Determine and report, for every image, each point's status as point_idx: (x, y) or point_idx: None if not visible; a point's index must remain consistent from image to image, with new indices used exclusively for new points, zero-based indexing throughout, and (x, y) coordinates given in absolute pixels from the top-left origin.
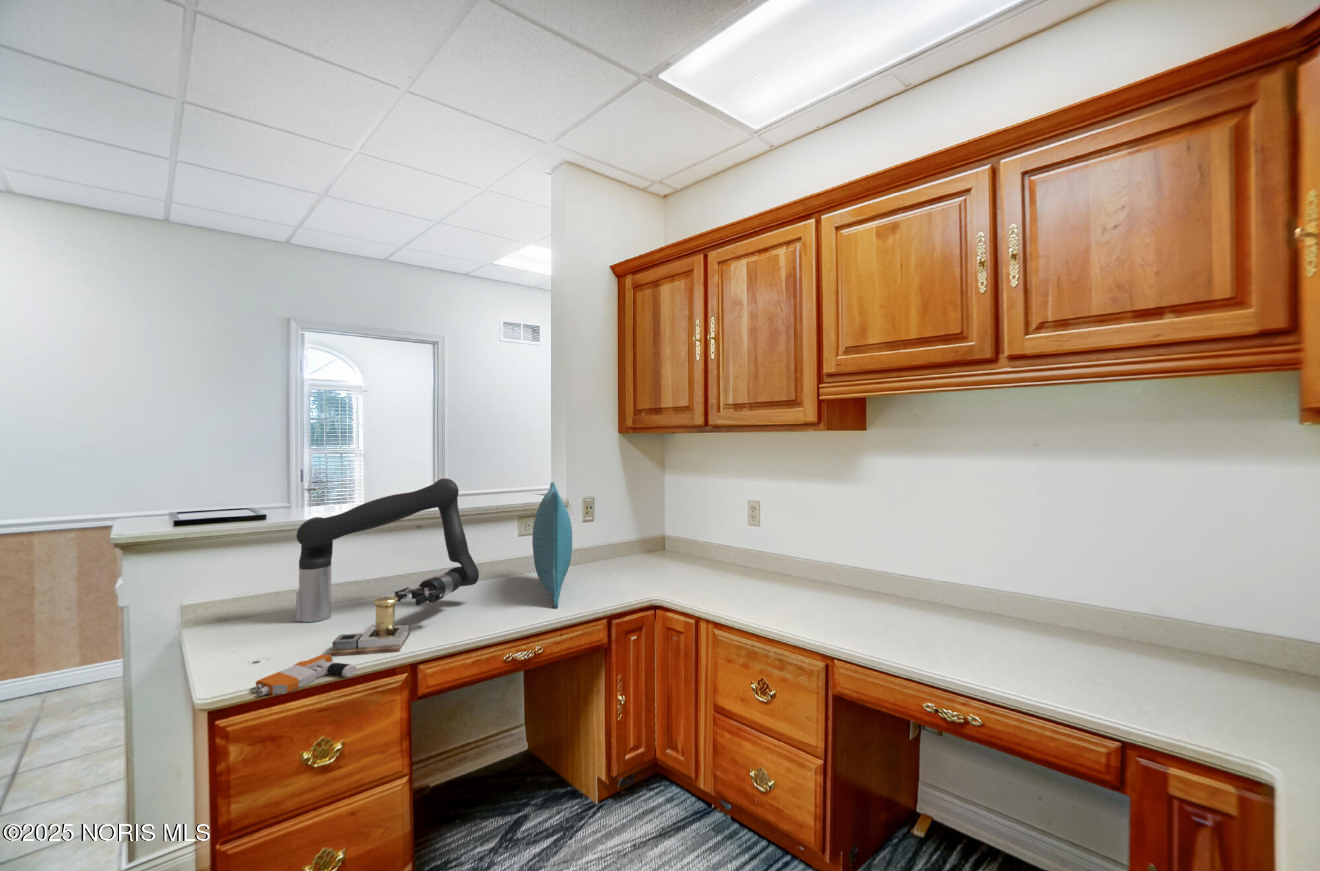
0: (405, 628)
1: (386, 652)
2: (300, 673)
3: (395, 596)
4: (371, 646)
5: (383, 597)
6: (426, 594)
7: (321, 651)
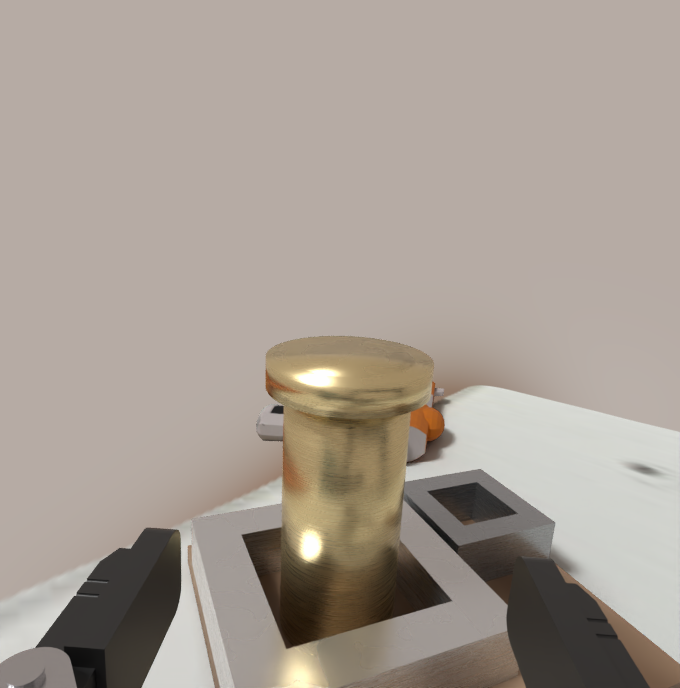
0: (227, 636)
1: None
2: None
3: (531, 583)
4: None
5: (401, 371)
6: (35, 662)
7: (556, 537)
